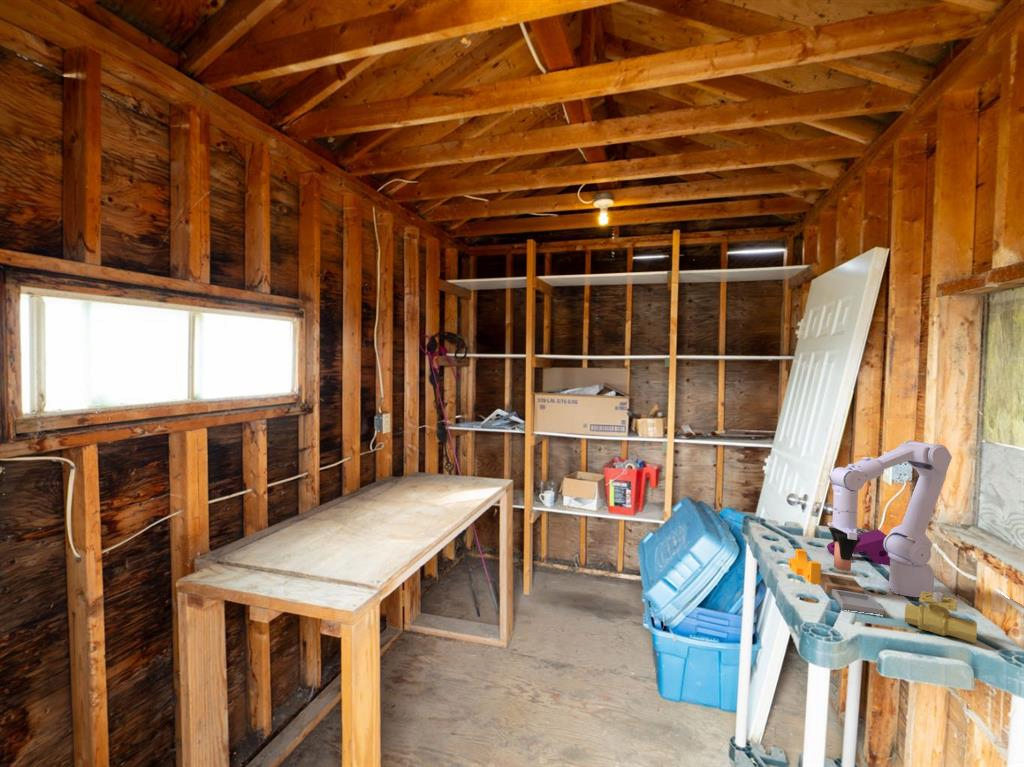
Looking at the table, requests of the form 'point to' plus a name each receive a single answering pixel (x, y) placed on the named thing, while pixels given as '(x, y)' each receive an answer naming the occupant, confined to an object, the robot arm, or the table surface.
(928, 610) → the ball valve
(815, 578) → the pipe clamp
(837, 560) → the plug
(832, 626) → the table surface
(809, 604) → the table surface
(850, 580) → the square frame
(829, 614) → the table surface
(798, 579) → the table surface
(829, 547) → the mounting bracket
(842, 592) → the tray
